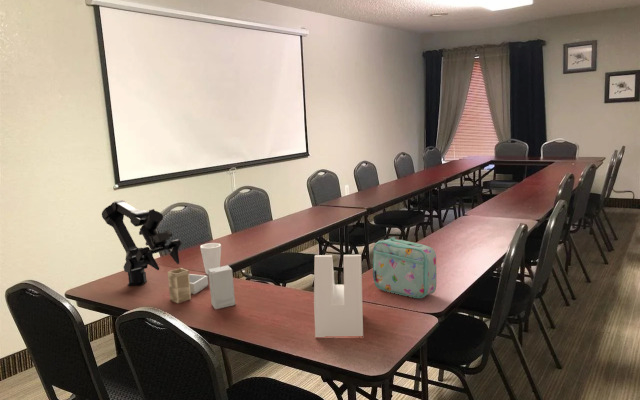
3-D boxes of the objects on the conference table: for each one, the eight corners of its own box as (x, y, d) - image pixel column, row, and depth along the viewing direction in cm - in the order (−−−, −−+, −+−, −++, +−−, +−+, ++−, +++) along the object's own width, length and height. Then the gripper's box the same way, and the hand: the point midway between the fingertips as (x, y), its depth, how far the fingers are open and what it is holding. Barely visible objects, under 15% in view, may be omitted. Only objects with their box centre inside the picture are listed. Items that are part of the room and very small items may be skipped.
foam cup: (218, 276, 231) (215, 248, 228) (199, 275, 232) (196, 248, 230) (225, 269, 240) (223, 243, 237) (207, 269, 242) (205, 242, 239)
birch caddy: (170, 300, 203) (167, 271, 200) (183, 296, 207) (180, 267, 205) (178, 303, 199) (175, 274, 197) (191, 298, 203) (188, 270, 201)
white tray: (173, 291, 212) (172, 281, 211) (187, 283, 222) (186, 273, 221) (194, 294, 209) (193, 283, 208) (208, 285, 218) (207, 275, 217)
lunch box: (367, 288, 208) (366, 237, 204) (382, 281, 215) (382, 232, 211) (424, 303, 190) (424, 248, 186) (438, 295, 197) (439, 242, 193)
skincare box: (231, 300, 200) (228, 264, 197) (235, 305, 195) (233, 268, 192) (210, 305, 196) (207, 268, 194) (214, 310, 191) (211, 272, 188)
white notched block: (363, 339, 163) (361, 264, 158) (315, 339, 164) (312, 264, 160) (362, 315, 182) (360, 247, 177) (319, 315, 183) (317, 248, 178)
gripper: (136, 229, 199) (154, 261, 193) (177, 220, 213) (195, 249, 207) (128, 245, 205) (145, 277, 200) (169, 236, 219) (185, 265, 214)
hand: (168, 266), depth 205 cm, fingers open, 9 cm apart
